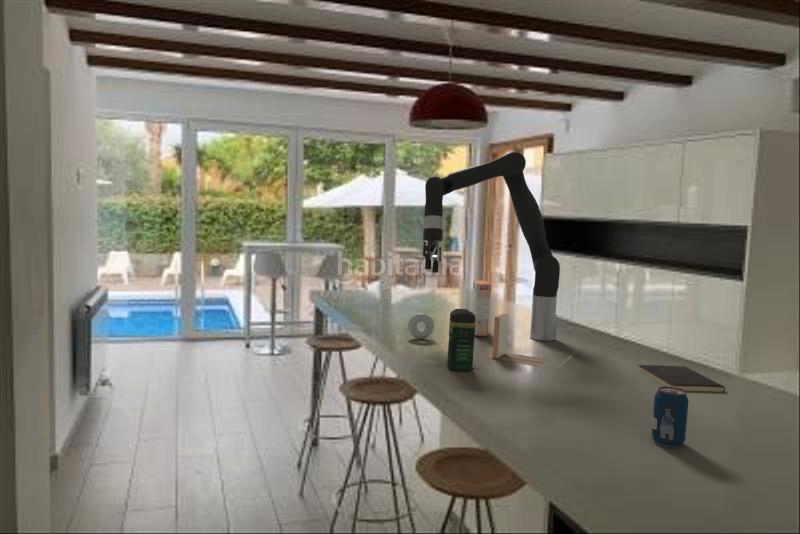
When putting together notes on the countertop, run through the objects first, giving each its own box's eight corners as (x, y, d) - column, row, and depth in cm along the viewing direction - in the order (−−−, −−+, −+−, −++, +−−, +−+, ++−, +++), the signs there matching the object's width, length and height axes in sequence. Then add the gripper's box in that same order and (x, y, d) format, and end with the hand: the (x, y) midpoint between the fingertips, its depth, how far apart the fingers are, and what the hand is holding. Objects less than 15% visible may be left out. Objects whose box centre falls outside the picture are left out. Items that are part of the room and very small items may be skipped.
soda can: (675, 437, 146) (680, 386, 145) (690, 449, 139) (695, 395, 138) (645, 436, 146) (650, 385, 144) (659, 448, 139) (663, 394, 138)
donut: (432, 338, 244) (434, 312, 243) (434, 340, 241) (435, 314, 240) (406, 337, 243) (407, 311, 242) (407, 339, 240) (408, 313, 239)
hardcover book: (671, 392, 186) (671, 384, 185) (638, 371, 208) (638, 364, 208) (724, 393, 186) (725, 386, 186) (685, 373, 209) (686, 366, 209)
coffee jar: (474, 372, 196) (477, 312, 194) (448, 371, 196) (451, 311, 194) (470, 364, 206) (473, 307, 204) (445, 363, 206) (448, 306, 204)
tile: (492, 358, 213) (494, 316, 212) (501, 353, 221) (503, 313, 220) (497, 358, 213) (500, 317, 211) (506, 353, 220) (509, 313, 219)
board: (497, 353, 224) (497, 351, 224) (547, 360, 215) (548, 359, 215) (484, 359, 213) (485, 357, 213) (537, 368, 205) (538, 366, 205)
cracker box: (488, 337, 251) (491, 284, 249) (473, 336, 251) (476, 283, 249) (484, 330, 265) (487, 280, 263) (470, 329, 265) (472, 279, 263)
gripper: (436, 224, 236) (435, 268, 234) (448, 232, 249) (447, 273, 247) (417, 225, 239) (416, 268, 237) (429, 233, 252) (428, 273, 250)
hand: (431, 270), depth 242 cm, fingers open, 8 cm apart
